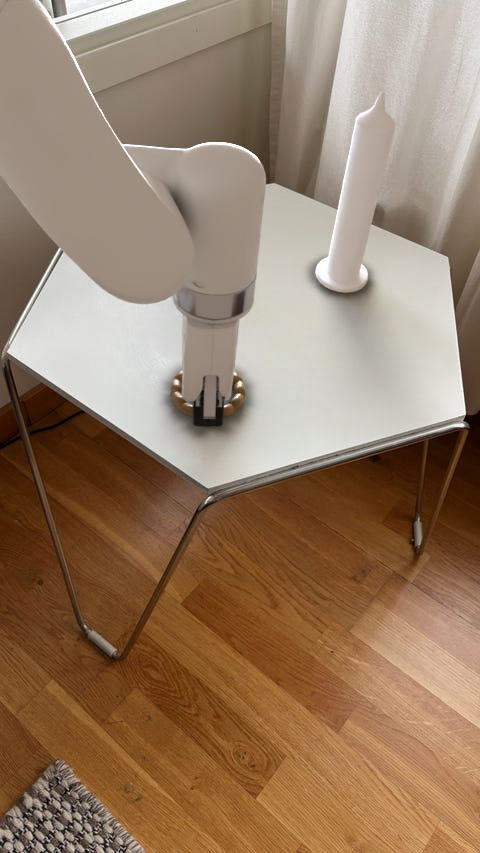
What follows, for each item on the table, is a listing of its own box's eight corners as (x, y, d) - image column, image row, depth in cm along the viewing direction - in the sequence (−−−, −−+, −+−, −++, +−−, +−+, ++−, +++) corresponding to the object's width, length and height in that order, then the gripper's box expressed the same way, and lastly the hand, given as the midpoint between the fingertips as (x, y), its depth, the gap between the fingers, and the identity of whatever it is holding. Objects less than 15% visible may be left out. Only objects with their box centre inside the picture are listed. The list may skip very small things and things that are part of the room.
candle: (366, 296, 93) (415, 111, 74) (313, 288, 94) (348, 101, 75) (368, 264, 98) (415, 81, 79) (317, 256, 98) (351, 72, 79)
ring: (169, 420, 78) (169, 413, 77) (172, 366, 83) (172, 358, 82) (245, 422, 78) (246, 415, 77) (243, 368, 83) (244, 361, 83)
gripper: (175, 231, 69) (176, 364, 83) (168, 343, 59) (170, 473, 73) (252, 235, 69) (239, 366, 84) (258, 346, 59) (243, 474, 74)
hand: (207, 415), depth 78 cm, fingers closed on ring, 1 cm apart
